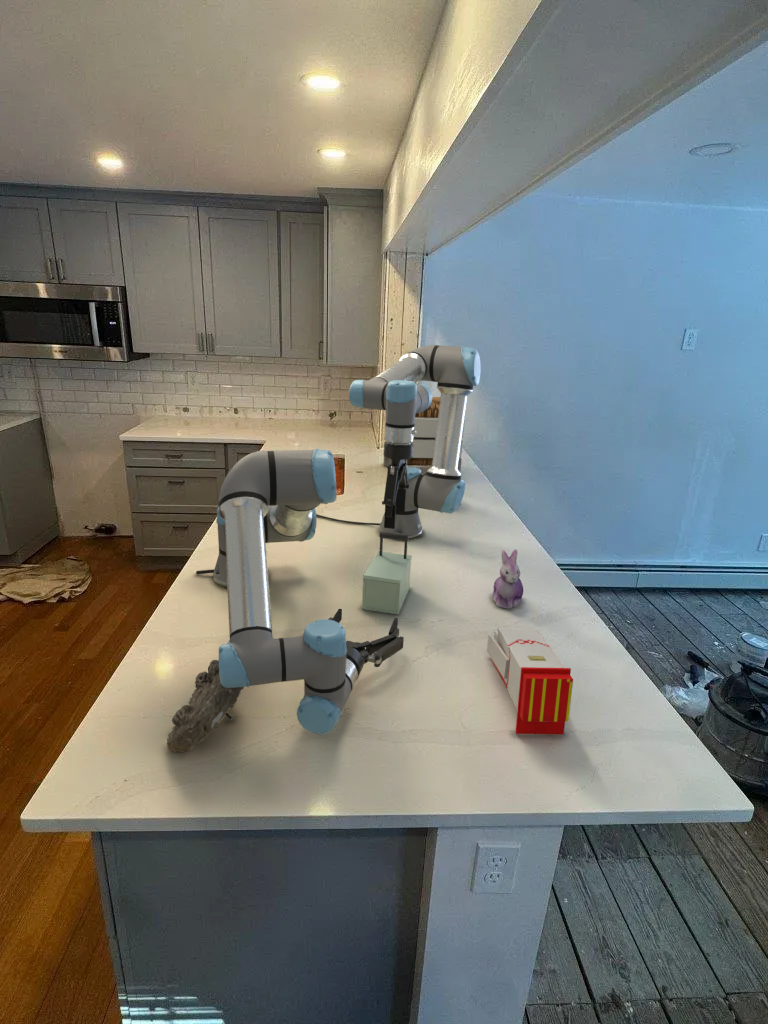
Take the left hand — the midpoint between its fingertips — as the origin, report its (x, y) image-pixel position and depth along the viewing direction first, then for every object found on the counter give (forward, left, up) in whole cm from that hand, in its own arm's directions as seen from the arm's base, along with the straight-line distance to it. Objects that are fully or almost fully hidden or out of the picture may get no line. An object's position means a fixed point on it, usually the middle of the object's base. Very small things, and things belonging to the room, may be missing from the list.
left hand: (368, 618), depth 133 cm
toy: (+36, -9, -6) cm, 38 cm away
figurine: (+32, +30, -6) cm, 44 cm away
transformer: (-13, +149, -6) cm, 150 cm away
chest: (0, +22, -6) cm, 22 cm away
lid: (0, +22, +3) cm, 22 cm away
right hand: (0, +27, +15) cm, 31 cm away
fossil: (-22, -34, -6) cm, 41 cm away
